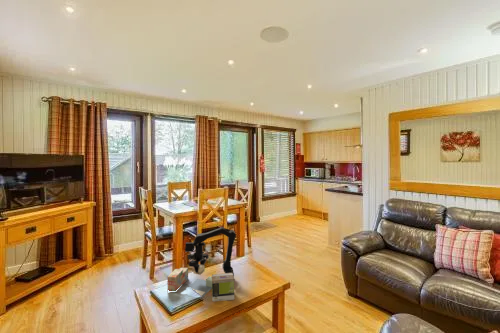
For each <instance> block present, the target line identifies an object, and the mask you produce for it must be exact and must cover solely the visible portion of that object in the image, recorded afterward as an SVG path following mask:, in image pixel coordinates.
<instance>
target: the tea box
mask: <svg viewBox="0 0 500 333" xmlns="http://www.w3.org/2000/svg"><path fill="white" fill-rule="evenodd" d="M211 277H212V289H211V297H212V302H221V301H222V302H223V301H234V300H235V280H234V279H235V276H234V277H233V273H225V272H224V273H213V274H211Z"/></svg>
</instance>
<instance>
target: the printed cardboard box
mask: <svg viewBox="0 0 500 333" xmlns="http://www.w3.org/2000/svg"><path fill="white" fill-rule="evenodd" d="M188 280H189V268H188V267H180V268H175V269H174V270H173V271H172V272H170V274H169V275H168V276H167V282H166V283H167V291H168V290H169V291H176V290H177V289H178V288H179V287H180V286H181V285H182V284H183V285H184V284H185V283H186V282H187V281H188ZM183 285H182V286H183ZM182 286H181V287H182Z"/></svg>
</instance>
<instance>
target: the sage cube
mask: <svg viewBox="0 0 500 333" xmlns="http://www.w3.org/2000/svg"><path fill="white" fill-rule="evenodd" d="M205 281H206V286H208V287H212V276H207V277H206V278H205Z"/></svg>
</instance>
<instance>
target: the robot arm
mask: <svg viewBox="0 0 500 333" xmlns="http://www.w3.org/2000/svg"><path fill="white" fill-rule="evenodd" d="M221 234H223V235H224V236H225V237H227V248H226V255H225V260H222V269H223V272H224V273H233V277H234V281H235V280H236V279H235V272H234V269H233V267H232V265H231V264H232V263H231V260H232V253H233V246H234V243H235V240H236V237H237V234H236V231H235V230H233V229H230V228H229V229H228V228H227V227H224V226H221V227H218V228H217V229H213V230H211V231H208V232H203V233H202V232H201V233H197V234H196V235H195V238H194V239H193V242H188V241H187V242H185V247H184V252H185V253H189V252H191V253H189V254H188V255H187V259H188V260H189V261H190V262H188V266H189V267H192V268H193V267H194V269H195V271H196V273H198V269H199V266H200V265H198V264H201V265H206V262H207V260H208V259H209V254H206V253H205V251H204V247H205V246H206V243H205V241H206V240H207V239H210V238H213V237H216V236H219V235H221ZM192 252H194V253H192Z"/></svg>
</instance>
